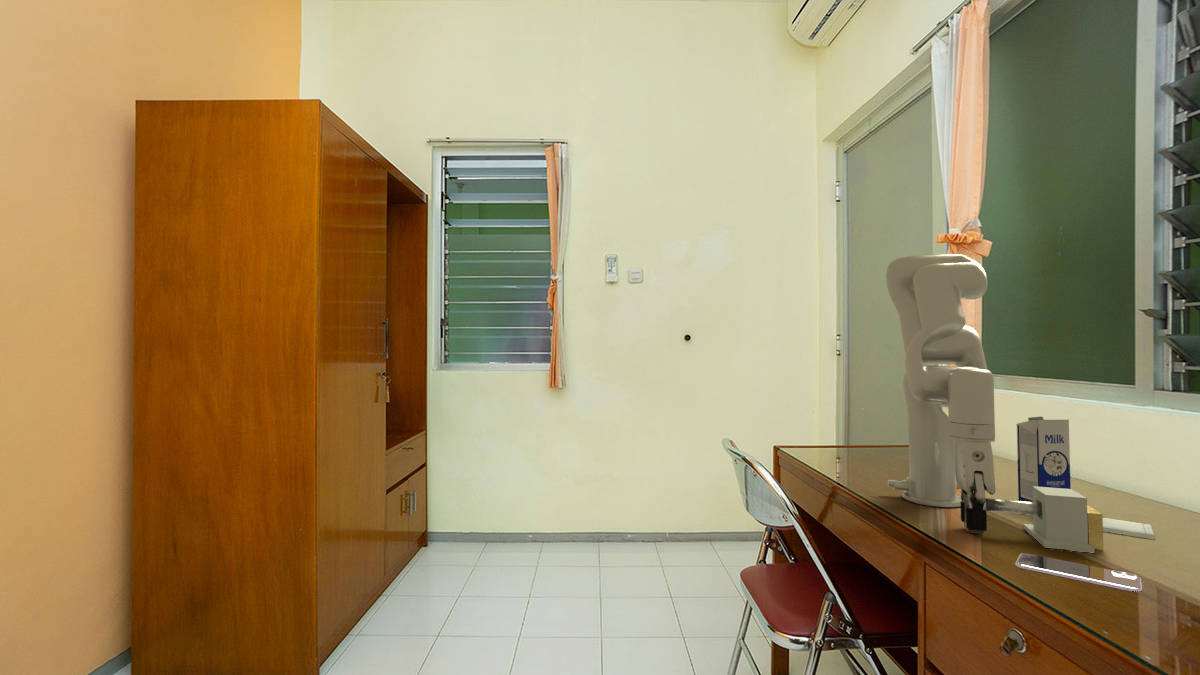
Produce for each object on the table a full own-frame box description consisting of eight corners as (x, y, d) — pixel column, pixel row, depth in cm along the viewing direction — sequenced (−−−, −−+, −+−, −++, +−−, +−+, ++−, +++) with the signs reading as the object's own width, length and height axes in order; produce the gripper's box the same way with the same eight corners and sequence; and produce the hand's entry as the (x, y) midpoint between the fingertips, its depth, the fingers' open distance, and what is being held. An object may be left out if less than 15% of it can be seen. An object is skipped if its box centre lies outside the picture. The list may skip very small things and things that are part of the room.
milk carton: (1040, 508, 123) (1038, 418, 124) (1017, 500, 130) (1015, 415, 131) (1072, 508, 124) (1069, 418, 124) (1047, 500, 130) (1045, 415, 131)
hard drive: (1067, 520, 111) (1154, 533, 103) (1068, 511, 117) (1150, 523, 109) (1067, 529, 111) (1154, 542, 103) (1068, 519, 117) (1150, 531, 109)
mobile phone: (1020, 550, 96) (1141, 574, 86) (1020, 556, 96) (1141, 580, 86) (1014, 562, 90) (1142, 589, 80) (1014, 568, 90) (1142, 596, 80)
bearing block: (1044, 548, 98) (1043, 497, 99) (1023, 528, 110) (1022, 482, 110) (1094, 553, 96) (1093, 501, 96) (1067, 532, 107) (1066, 486, 107)
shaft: (968, 532, 106) (967, 496, 106) (963, 526, 110) (963, 491, 110) (1072, 542, 100) (1071, 505, 100) (1064, 536, 104) (1063, 499, 104)
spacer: (1089, 549, 98) (1088, 512, 98) (1074, 537, 104) (1073, 503, 104) (1103, 550, 97) (1102, 514, 98) (1088, 539, 103) (1086, 504, 104)
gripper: (1007, 439, 99) (1009, 542, 99) (983, 427, 114) (985, 516, 114) (958, 436, 102) (960, 537, 101) (941, 425, 117) (943, 512, 117)
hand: (973, 525), depth 108 cm, fingers closed on shaft, 4 cm apart
